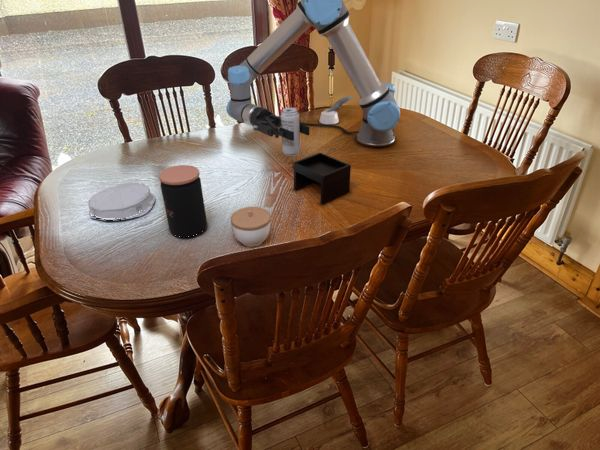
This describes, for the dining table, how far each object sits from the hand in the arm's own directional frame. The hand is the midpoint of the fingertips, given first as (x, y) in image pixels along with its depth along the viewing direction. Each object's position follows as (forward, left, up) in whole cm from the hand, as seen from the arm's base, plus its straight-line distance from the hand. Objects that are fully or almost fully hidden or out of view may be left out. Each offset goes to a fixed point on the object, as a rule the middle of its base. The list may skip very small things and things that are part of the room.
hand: (300, 133), depth 146 cm
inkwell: (-45, +47, -17) cm, 67 cm away
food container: (-16, -56, -17) cm, 61 cm away
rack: (+10, +2, -17) cm, 20 cm away
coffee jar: (+8, -43, -17) cm, 47 cm away
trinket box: (+23, -30, -17) cm, 42 cm away
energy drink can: (-5, -1, -8) cm, 10 cm away
